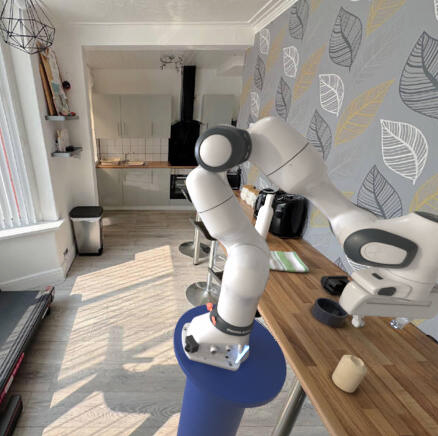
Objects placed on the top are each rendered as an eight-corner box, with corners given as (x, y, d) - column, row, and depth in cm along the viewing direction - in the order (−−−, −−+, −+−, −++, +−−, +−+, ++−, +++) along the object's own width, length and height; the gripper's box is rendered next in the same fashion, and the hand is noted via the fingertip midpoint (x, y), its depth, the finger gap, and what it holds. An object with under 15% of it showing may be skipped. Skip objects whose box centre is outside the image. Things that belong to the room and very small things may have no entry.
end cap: (337, 284, 111) (342, 272, 109) (350, 294, 105) (356, 282, 102) (317, 284, 110) (322, 272, 108) (329, 295, 104) (335, 283, 101)
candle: (338, 391, 67) (352, 368, 63) (327, 372, 72) (340, 349, 68) (359, 394, 66) (375, 371, 62) (347, 375, 71) (360, 352, 67)
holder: (321, 326, 88) (326, 316, 86) (306, 306, 97) (310, 296, 95) (349, 328, 88) (355, 318, 86) (331, 307, 97) (335, 298, 95)
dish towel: (309, 274, 118) (311, 268, 116) (261, 269, 119) (263, 264, 118) (293, 255, 133) (294, 250, 132) (251, 252, 135) (252, 246, 134)
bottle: (256, 235, 154) (267, 192, 142) (267, 240, 149) (280, 195, 137) (249, 239, 150) (260, 194, 138) (261, 244, 144) (274, 198, 132)
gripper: (433, 275, 56) (405, 318, 61) (345, 271, 56) (326, 314, 62) (465, 293, 50) (431, 339, 56) (367, 288, 51) (344, 334, 56)
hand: (375, 326), depth 59 cm, fingers open, 8 cm apart
